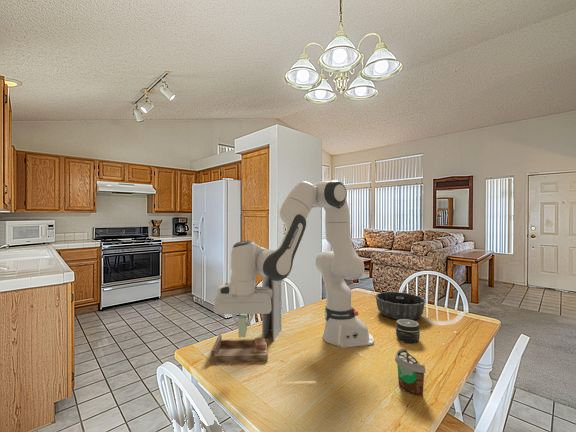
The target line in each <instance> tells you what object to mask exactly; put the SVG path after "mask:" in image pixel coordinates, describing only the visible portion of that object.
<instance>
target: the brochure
mask: <svg viewBox="0 0 576 432" xmlns="http://www.w3.org/2000/svg"><path fill="white" fill-rule="evenodd" d="M261 277H262V279H261V281H262V283H261V287H268V288H270V289H271V290H272V298H271V312H270V313H269V314H261V320H262V321H261V329H262V330H261V333H262V335H261V338H264V339H265V338H266V336H267V334H268V333H270V332H271V336H272V340H273V341H274V342H275V340H276V339H277V337H278V335H279V334H280V332H281V331H282V280H281V281H274V280H272V279H270V278H268V277H266V276H263V275H261ZM270 289H268V290H270Z"/></svg>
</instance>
